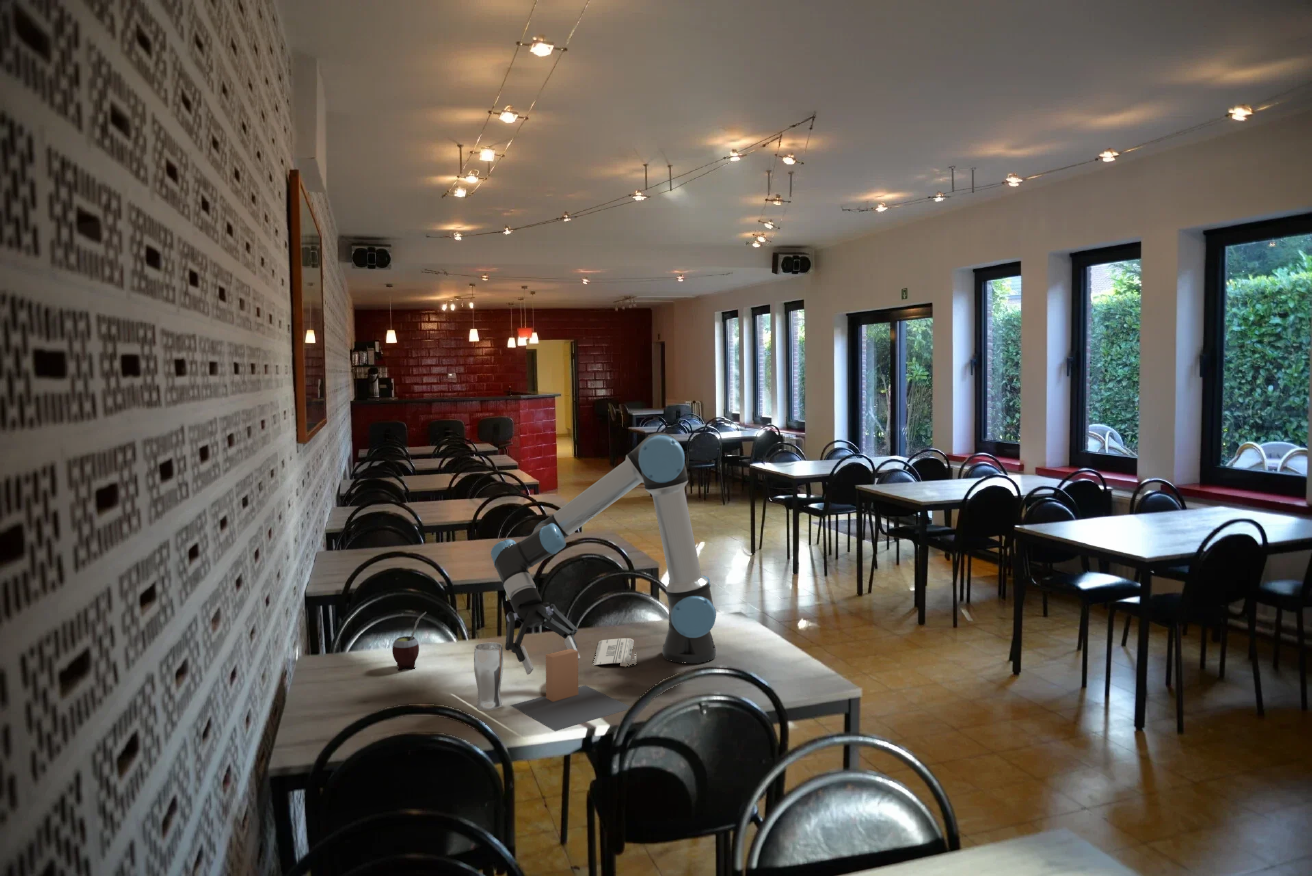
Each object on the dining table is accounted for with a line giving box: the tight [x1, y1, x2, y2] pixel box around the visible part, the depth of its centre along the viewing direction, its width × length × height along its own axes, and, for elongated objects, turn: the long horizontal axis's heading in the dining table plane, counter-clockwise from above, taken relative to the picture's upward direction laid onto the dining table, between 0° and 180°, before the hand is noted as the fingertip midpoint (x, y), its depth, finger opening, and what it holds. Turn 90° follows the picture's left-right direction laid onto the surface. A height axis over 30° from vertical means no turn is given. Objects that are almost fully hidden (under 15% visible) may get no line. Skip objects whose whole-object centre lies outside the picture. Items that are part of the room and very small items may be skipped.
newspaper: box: [592, 637, 638, 667], centre depth 260 cm, size 23×12×2 cm, turn 179°
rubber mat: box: [509, 684, 631, 732], centre depth 218 cm, size 22×20×1 cm
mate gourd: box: [391, 611, 427, 672], centre depth 248 cm, size 8×8×15 cm
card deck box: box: [545, 648, 579, 702], centre depth 225 cm, size 8×3×11 cm, turn 129°
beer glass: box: [473, 641, 504, 712], centre depth 219 cm, size 7×7×15 cm
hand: (554, 666), depth 226 cm, fingers open, 13 cm apart
